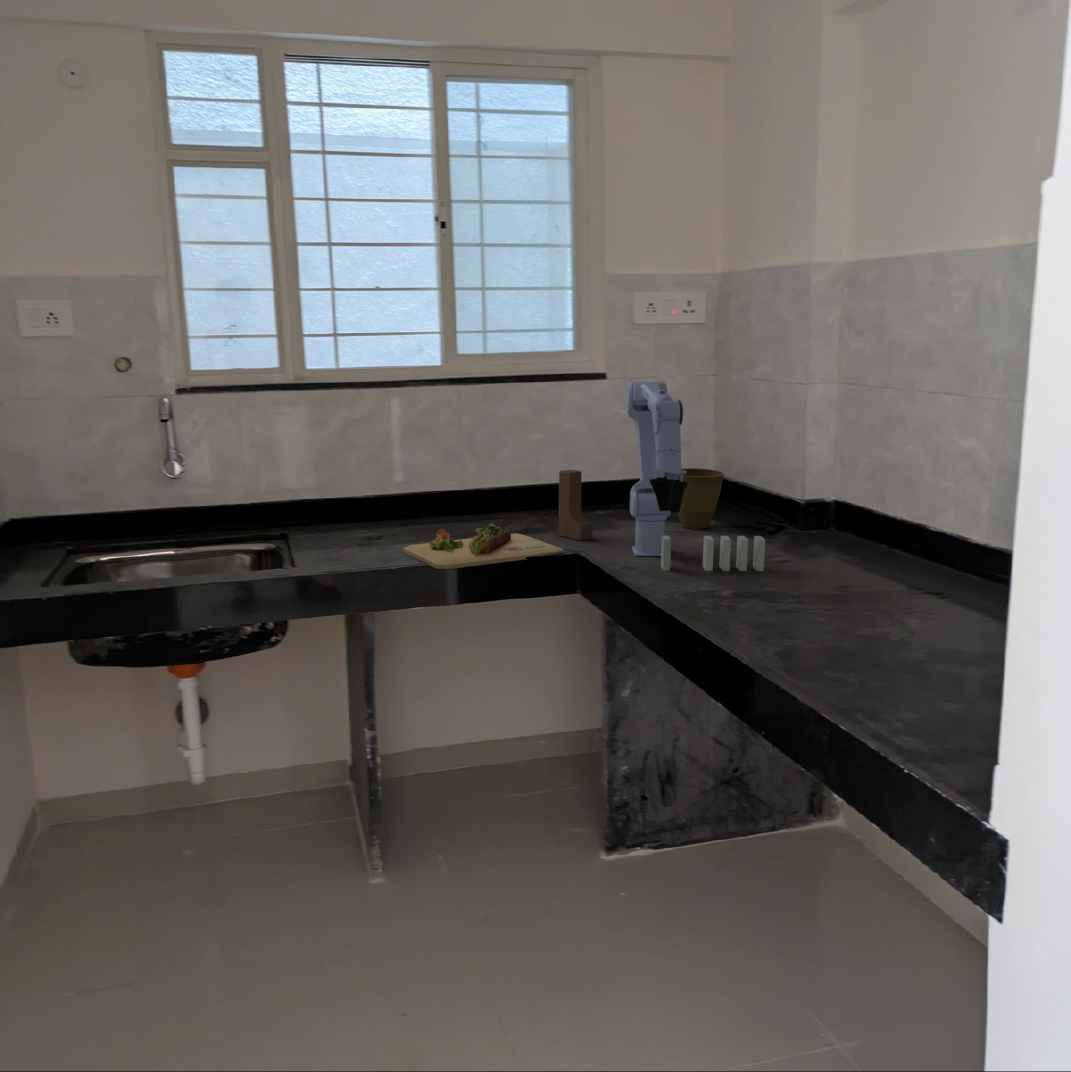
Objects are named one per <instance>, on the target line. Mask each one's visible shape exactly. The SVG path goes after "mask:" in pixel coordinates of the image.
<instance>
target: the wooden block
mask: <svg viewBox="0 0 1071 1072" xmlns="http://www.w3.org/2000/svg"><path fill="white" fill-rule="evenodd" d="M582 473H583V472H582V471H581V470H576V469H563V470H560V471H559V472H558V536H559V537H562V536H563V538H567V539H571V540H575V539H576V541H580V542H582V541H586V540H591V539H593V522H591V521H589V520H587V519H586V518H585V517H584V514H583V511H582Z"/></svg>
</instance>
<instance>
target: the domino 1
mask: <svg viewBox="0 0 1071 1072" xmlns="http://www.w3.org/2000/svg"><path fill="white" fill-rule="evenodd" d="M671 546H672V539H671V537H670V535H664V536H662V545H661V556H660V567H661V569H662V571H663V572H667V571H668V572H669V571H671V549H672V547H671Z"/></svg>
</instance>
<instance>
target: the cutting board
mask: <svg viewBox="0 0 1071 1072" xmlns="http://www.w3.org/2000/svg"><path fill="white" fill-rule="evenodd" d="M474 532H476V533H477V535H475V536H473V537H472V538H471V537H470V538H462V539H454V538H451V537H452V536H451V534H450V533H449V532H447V531H446V529H443V528H440V529H439V530H438V531H437V533H436V534H435V535H436V536H435V539H434V540H431V541H430V542H426V543H419V544H410V545H407V546H406V547H403V548H402V553H404V554H406V555H408V556H410V557H411V558H414V559H416V560H418V561H420V560H421V561H420V562H422V561H424V562H426V563H428V564H429V565H428V564H427V565H428V566H430V567H432V568H434V569H436V570H453V569H462V568H468V567H476V566H484V565H491V564H499V563H500V564H501V563H506V562H515V561H523V560H527V559H526V557H530V556H535V555H541V554H548V553H556V552H560V551H562V550H563V551H564V548H561V547H559V546H555V545H553V544H550V543H547V542H544V541H543V540H539V539H537V538H534V537H531V536H527V535H525V534H522V533H511V532H510V531H509V530H505V529H504V528H502V527H501V526H496V524H494V523H489V524H488V526H487V527H486V529H484V528H482V527H481V528H480V527H478V528H476V529H474ZM424 562H423V563H424ZM426 563H425V564H426Z"/></svg>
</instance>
